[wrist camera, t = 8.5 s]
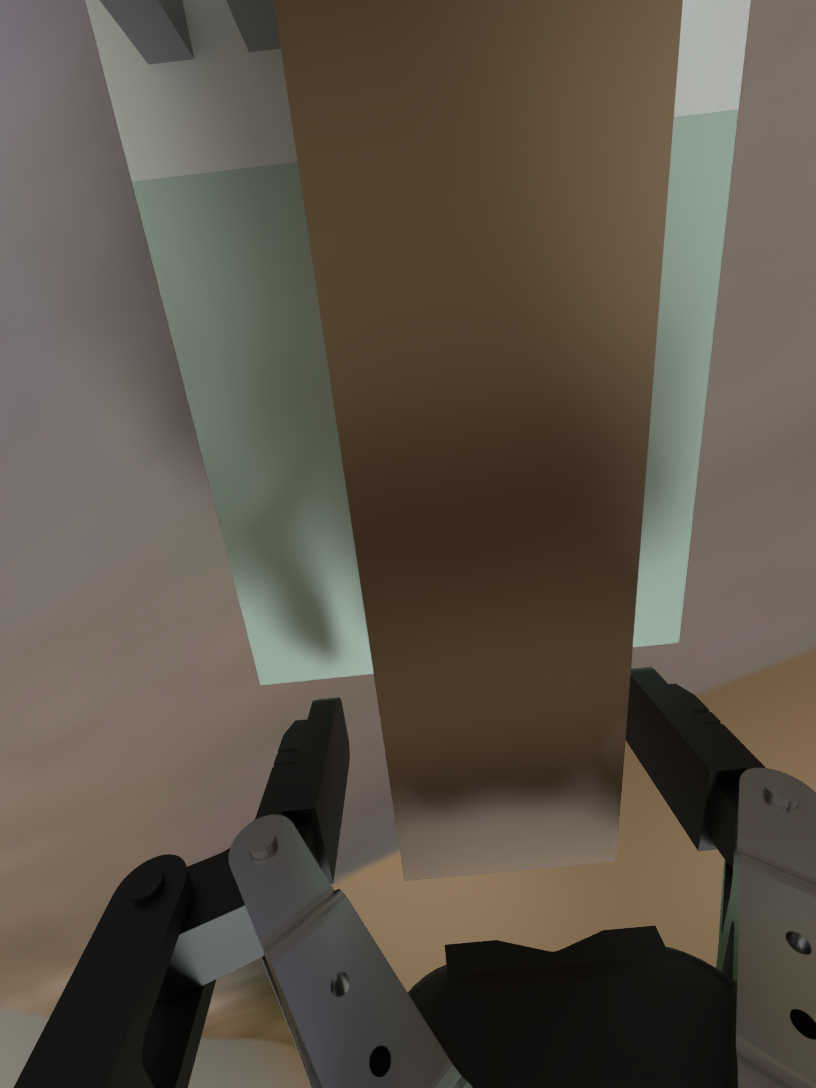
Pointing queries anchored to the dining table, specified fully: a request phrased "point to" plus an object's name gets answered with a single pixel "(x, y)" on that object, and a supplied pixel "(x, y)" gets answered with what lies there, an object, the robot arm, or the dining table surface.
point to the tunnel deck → (295, 323)
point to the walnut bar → (491, 389)
